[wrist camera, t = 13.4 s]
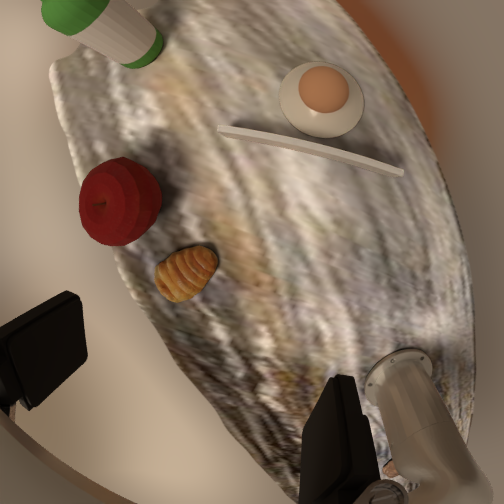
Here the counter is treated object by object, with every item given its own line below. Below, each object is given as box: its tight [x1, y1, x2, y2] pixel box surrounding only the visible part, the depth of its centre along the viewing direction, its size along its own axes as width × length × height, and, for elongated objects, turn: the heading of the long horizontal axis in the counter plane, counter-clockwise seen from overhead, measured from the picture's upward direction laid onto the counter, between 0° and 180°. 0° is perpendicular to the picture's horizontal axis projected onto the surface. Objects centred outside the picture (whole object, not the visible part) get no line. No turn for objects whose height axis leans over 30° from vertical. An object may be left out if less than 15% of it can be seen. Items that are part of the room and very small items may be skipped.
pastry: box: [154, 245, 218, 303], centre depth 37 cm, size 9×7×4 cm
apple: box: [79, 157, 162, 246], centre depth 32 cm, size 11×11×12 cm
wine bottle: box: [41, 0, 163, 69], centre depth 17 cm, size 8×8×30 cm
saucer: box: [279, 62, 364, 138], centre depth 30 cm, size 11×11×1 cm
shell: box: [382, 459, 399, 478], centre depth 42 cm, size 12×13×4 cm
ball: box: [298, 66, 349, 113], centre depth 27 cm, size 6×6×6 cm
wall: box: [217, 125, 404, 177], centre depth 30 cm, size 22×1×4 cm, turn 78°
